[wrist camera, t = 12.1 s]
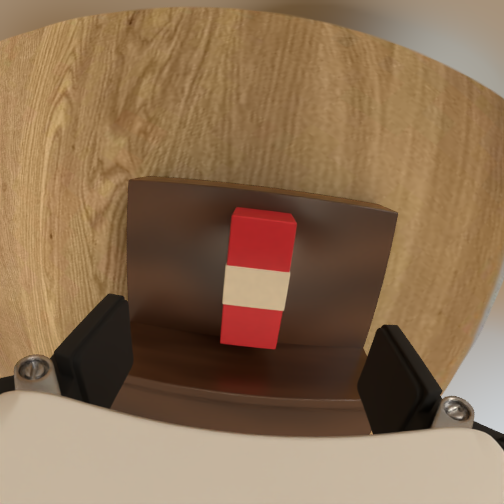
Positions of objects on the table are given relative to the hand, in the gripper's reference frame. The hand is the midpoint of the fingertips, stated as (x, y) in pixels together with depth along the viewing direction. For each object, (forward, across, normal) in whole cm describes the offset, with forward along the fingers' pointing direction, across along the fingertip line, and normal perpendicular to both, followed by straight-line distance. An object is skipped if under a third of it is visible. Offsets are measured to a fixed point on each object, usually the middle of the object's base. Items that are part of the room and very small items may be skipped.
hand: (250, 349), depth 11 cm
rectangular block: (+10, 0, +1) cm, 10 cm away
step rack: (+14, 0, +6) cm, 15 cm away
